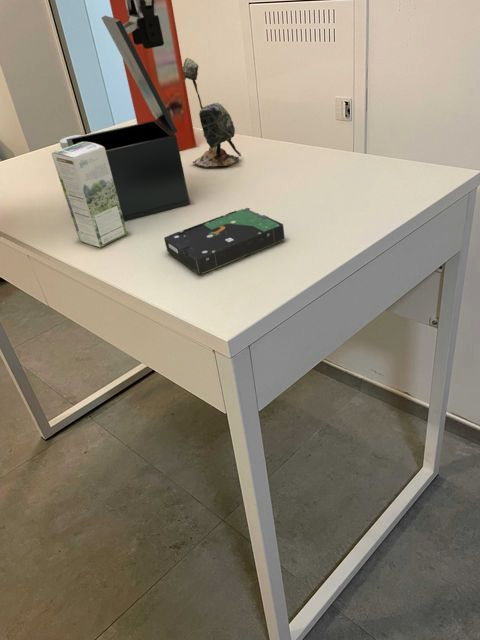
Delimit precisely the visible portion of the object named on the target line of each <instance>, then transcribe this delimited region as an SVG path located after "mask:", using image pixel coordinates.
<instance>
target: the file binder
mask: <svg viewBox="0 0 480 640" xmlns="http://www.w3.org/2000/svg"><path fill="white" fill-rule="evenodd" d="M108 1H109V5H110V8H111V13H112V18H115V19H119V20H121V22H122V24H125V23H127V22H128V21H129V19H128V17H130V16H128V13H127V8H126V2H125V0H108ZM154 1H155V5H156V9H157V13H158V17H159V22H160V26H161V31H162V36H163V41H164V45H163V46H159V47H154V48H149V49H145V48H144V47H143V44H139V45H136V44H135V43H134V40H133V36H132V32H131V33H129V34H128V36H129V38H130V40H131V42H132V44H133V45H134V47H135V49H136V51H137V53H138V55H139V57H140V59H141V61H142V63H143V65H144V67H145V69H146V71H147V73H148V75H149V77H150V79H151V80H152V82H153V84H154V86H155V88H156V90H157V92H158V94H159V96H160V98H161V100H162V102H163V104H164V106H165V108H166V110H167V112H168V113H169V115H170V117H171V119H172V121H173V123H174V125H175V127H176V129H177V131H178V132H176V133H175V135H176V137H177V142H178V147H179V152H180V151H183V150H184V151H185V150H188V149H192V148H196V145H197V143H196V136H195V131H194V125H193V119H192V113H191V107H190V102H189V95H188V90H187V84H186V80H185V81H183V79H184V74H183V73H182V68H183V66H184V64H183V61H182V55H181V48H180V44H179V36H178V31H177V25H176V19H175V13H174V6H173V1H172V0H154ZM122 63H123V66H124V72H125V76H126V80H127V84H128V89H129V93H130V98H131V102H132V107H133V111H134V116H135V120H136V124H140V123H145V122H150V121H154V120H157V119H155V118H154V116H153V114H152V112H151V110H150V108H149V106H148V104H147V103H146V101H145V99H144V97H143V95H142V93H141V91H140V89H139V88H138V86H137V84H136V82H135V80H134V78H133V76H132V74H131V73H130V71H129V69H128V67H127V65H126V63H125V61H124V60H123V59H122Z"/></svg>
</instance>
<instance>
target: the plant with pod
mask: <svg viewBox="0 0 480 640" xmlns="http://www.w3.org/2000/svg"><path fill="white" fill-rule="evenodd" d="M198 71H199V64H198V63H196V62H195V60H193V59H191V58H190V57H187V58H185V59H184V62H183V68H182V73H183V74H184V79H183V81H185V82H186V79H187V80H191V81H192V83H193V86H194V89H195V92H196V94H197V98H198V101H199V106H200V110H199V113H198V115H199V122H200V124H201V128H202V132H203V137H204V138H205V140H206V144H208V146H209V147H208V150H206V151H205V152H204V153H203V154H202V155H201V156H200V157H198V158H197V159H195V160H194V161H192V164H194V165H197V166H201V167H204V168H208V167H220V166H221V167H230V166H233V165H234V164H235V163H237V162H238V161H239V159H240V157H242V152H240V151H239V150H238V149H237V147H236V146H235V144H234V143H233V141H232V138H234V137H235V133H236V128H235V125H234V121H233V120H232V116H231V114H230V113H229V112H228V110H227V109H226V108H225V107H224V105H223V104H222V103H219V102H213V103H210V104H207V105H205V106H203V105H202V104H203V103H202V100H201V96H200V93H199V91H198V84H197V80H198V74H199V73H198ZM225 142H227V143H228V144H229V145H230V147H231V148H232V150H233V151H234V152H235V153H236V154H237V155H238V156H236V155H233V154H230V153H227V151H226V150H225V149H224V148H222V147H221V144H222V143H225Z"/></svg>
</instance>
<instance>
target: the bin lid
mask: <svg viewBox="0 0 480 640" xmlns="http://www.w3.org/2000/svg"><path fill="white" fill-rule="evenodd" d="M137 19H139V16H138V15H136V14H132V15H131V16H130V17H129V21H128V22H127V23H125V24H122V22H121V20H119V19H115V18H113V16H108V15H103V16H101V21H102V22H103V24H104V26H105V28H106V30H107V31H108V33H109V35H110V38H111V39H112V41H113V42H114V45H115V47H116V48H117V50H118V52H119V55H121V57H122V61H123V60H124V61H125V63H126V65H127V67H128V69H129V71H130V73H131V74H132V76H133V78H134V80H135V82H136V84H137V86H138V88H139V89H140V91H141V93H142V95H143V97H144V99H145V101H146V103H147V104H148V106H149V108H150V110H151V112H152V114H153V116H154V118H155V119H157V120H158V121H159V122H160V123H161V124H163V125H164V126H165V127H166V128H167V129H169V130H170V131H171V132H172V133H173V134H175V133H176V132H178V131H177V129H176V127H175V125H174V123H173V121H172V119H171V117H170V115H169V113H168V112H167V110H166V108H165V106H164V104H163V102H162V100H161V98H160V96H159V94H158V92H157V90H156V88H155V86H154V84H153V82H152V80H151V79H150V77H149V75H148V73H147V71H146V69H145V67H144V65H143V63H142V61H141V59H140V57H139V55H138V53H137V51H136V49H135V47H134V45H133V44H132V42H131V40H130V38H129V36H128V34H129V33H131V32H132V31H134V30H136V29H139V26H138V21H137Z"/></svg>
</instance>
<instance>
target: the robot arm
mask: <svg viewBox="0 0 480 640" xmlns="http://www.w3.org/2000/svg"><path fill="white" fill-rule="evenodd" d="M125 2H126V8H127V13H128V16H131V15H132V14H136V15H138V16H139V19H137V21H138V26H139V29H136V30H134V31H132V36H133V40H134V43H135V44H136V45H139V44H143V47H144V48H145V49H149V48H154V47H159V46H163V45H164V41H163V36H162V31H161V26H160V22H159V17H158V13H157V9H156V5H155V1H154V0H125ZM128 19H129V17H128Z"/></svg>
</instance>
